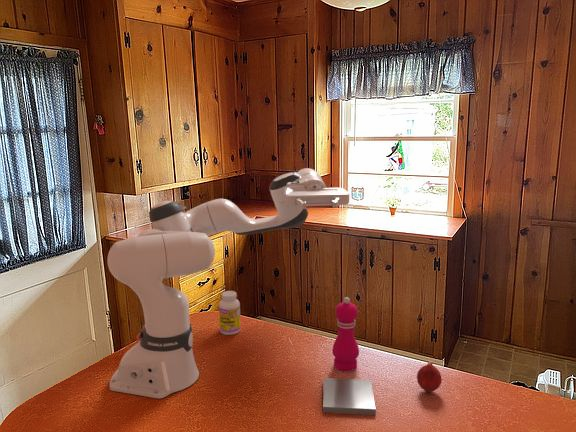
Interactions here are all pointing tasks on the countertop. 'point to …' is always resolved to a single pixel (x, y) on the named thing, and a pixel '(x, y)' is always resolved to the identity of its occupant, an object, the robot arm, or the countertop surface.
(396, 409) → the countertop surface
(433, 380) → the onion
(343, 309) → the pepper mill
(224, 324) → the supplement bottle
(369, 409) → the silver flat square block
